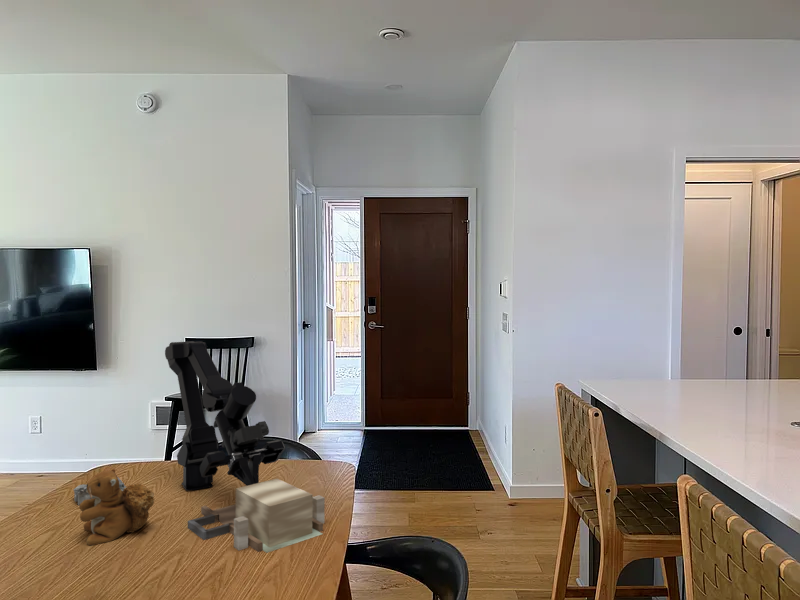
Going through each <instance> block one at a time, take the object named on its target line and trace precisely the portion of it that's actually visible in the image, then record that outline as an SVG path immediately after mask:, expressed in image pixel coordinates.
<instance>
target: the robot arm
mask: <svg viewBox="0 0 800 600" xmlns="http://www.w3.org/2000/svg"><path fill="white" fill-rule="evenodd" d="M164 356H165V359H166V360H167V363H168V366H169V369H171V371H173V373H174V374H175V375H176V376H177V382H178V386H179V392H180V398H181V403H182V407H183V413H184V419H185V420H184V421H185V427H186V429H185V431H184V434H183V436H182V439H181V442H182V444H181V446H180V449H178V452H177V454H176V458H177V464H178V465H180V466H182V467H183V468H182V469H183V470H182V475H183V477H182V482H181V486H182V485H183V486H182V487H183V488H184V490H185V491H186V492H190V491H196V490H201V489H207V488H212V487H213V482H214V479H213V478H214V476H216V474H217V472H218V471H219V469H218V467H223V466H227V467H228V471H227V475H228V476H230V475H231V476H233V477H234V478H236V479H237V480H239V481H240V482H241V483H242V484H244V486H248V485H252V484H256V483H260V479H259V478H260V477H259V469H260V465H261V463H263V464H264V465H268V464H272V463H276V462H277V461H278V460H279V459H280V458H281V456H282V454H283V453H284V451H285V450H286V446H285V444H284V442H283V441H282V440H281V439H276V440H271V441H266V442H265V443H264V445H263V447H262V448H261V449H255V447H256V448H257V447H258V445H259V442H258V441H260V440H263V439H264V437H266V436H268V435H269V433H270V429H269V426H268V424H267V423H266V421H265V420H264V421H258V422H257V423H255V424H254V425H249V426H246V425H245V423H244V419H245V418H247V416H248V414H249V412H250V411H251V409H252V407H253V406H254V403H255V402H256V400H257V394H256V392H255V391H254V390H253V389H252V388H250V387H248V386H246V385H244V384H243V382H234V383H233V384H232V382H230V380H228V379H226V378H224V377H222V376H221V373H220V372H219V369H218V368H217V366H216V364H215V362H214V361H213V359H212V356H211V355H210V353H209V351H208V345H207V343H206V342H203V341H193V340H192V341H172V342H169V344H168V346H166V347H165V350H164ZM199 382H200V384H201V386H202V387H201V388H202V390H203V391H202V395H201V390H200V385H199ZM204 408H205V410H206V411H207V412H210V413H213V412H218V413H217V414H216V416H215V418H214V422H213V425H209V423H208V422H207V421H206V416H205V410H204ZM216 428H217V429H218V431H219V433H220V436H221V437H220V438H221V439H222V442H221V447H222V448H225V450H226V452H227V453H225V451H224V450H219V448H220V444H219V440H218V437H217V433H216ZM226 454H227V455H226Z"/></svg>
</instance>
